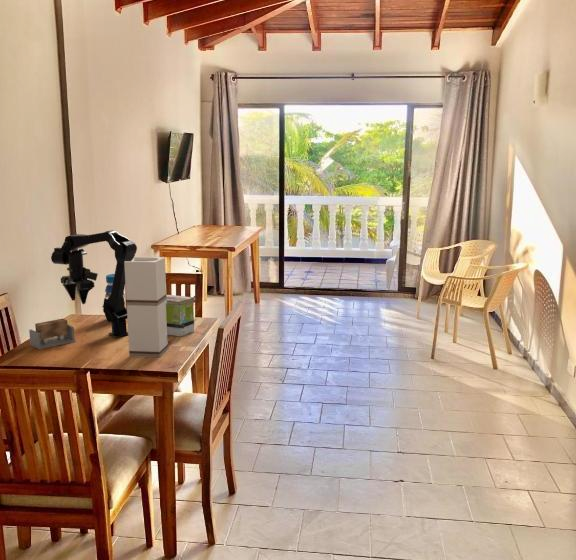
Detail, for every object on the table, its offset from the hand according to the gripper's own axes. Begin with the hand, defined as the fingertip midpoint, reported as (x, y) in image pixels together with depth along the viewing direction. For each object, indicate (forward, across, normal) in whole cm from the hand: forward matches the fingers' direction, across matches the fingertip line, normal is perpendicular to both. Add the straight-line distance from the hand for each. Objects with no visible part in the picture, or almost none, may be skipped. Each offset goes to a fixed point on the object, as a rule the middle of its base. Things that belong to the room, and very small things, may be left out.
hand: (78, 302), depth 262 cm
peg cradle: (+12, -10, +16) cm, 23 cm away
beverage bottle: (+12, +6, -20) cm, 24 cm away
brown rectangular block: (+9, -10, +16) cm, 21 cm away
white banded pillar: (+12, -47, -4) cm, 49 cm away
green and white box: (+12, -30, -26) cm, 42 cm away
